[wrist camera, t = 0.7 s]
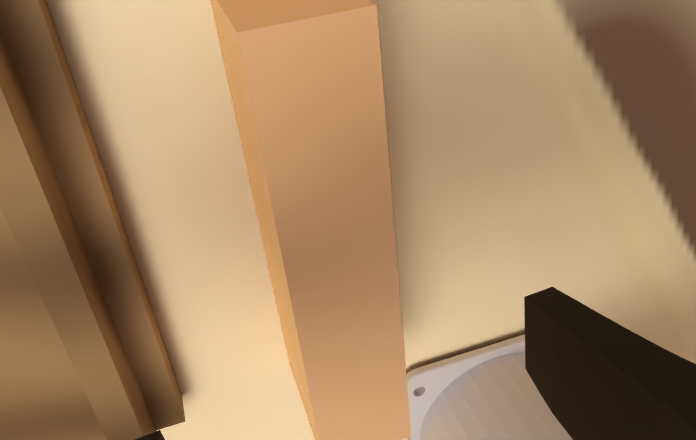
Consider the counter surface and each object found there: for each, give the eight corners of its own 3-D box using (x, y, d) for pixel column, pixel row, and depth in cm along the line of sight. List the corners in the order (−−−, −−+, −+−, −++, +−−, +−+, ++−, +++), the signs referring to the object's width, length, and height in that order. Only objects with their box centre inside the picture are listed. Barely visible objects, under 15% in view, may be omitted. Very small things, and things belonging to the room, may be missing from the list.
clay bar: (362, 337, 25) (411, 436, 21) (288, 360, 25) (323, 465, 21) (314, -38, 18) (376, 4, 14) (206, -18, 17) (236, 32, 13)
